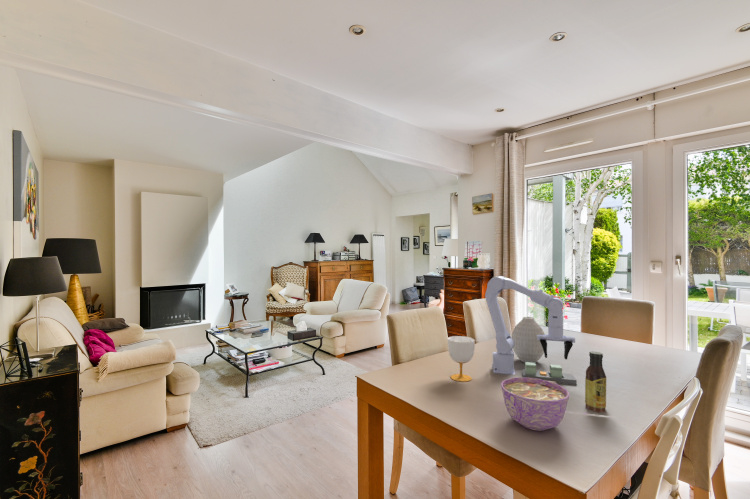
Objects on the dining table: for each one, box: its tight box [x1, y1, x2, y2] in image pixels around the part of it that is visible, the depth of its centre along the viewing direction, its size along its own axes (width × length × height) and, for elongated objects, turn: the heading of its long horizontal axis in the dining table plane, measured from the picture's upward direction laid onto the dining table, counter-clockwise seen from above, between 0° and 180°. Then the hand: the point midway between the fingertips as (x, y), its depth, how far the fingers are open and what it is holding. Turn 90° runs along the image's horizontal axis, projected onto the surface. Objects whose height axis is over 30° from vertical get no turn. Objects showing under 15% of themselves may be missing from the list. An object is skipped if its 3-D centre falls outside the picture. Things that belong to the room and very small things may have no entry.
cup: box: [447, 335, 476, 383], centre depth 155 cm, size 12×12×17 cm
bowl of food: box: [500, 376, 570, 432], centre depth 113 cm, size 20×20×12 cm
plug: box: [549, 364, 563, 378], centre depth 151 cm, size 4×4×6 cm
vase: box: [510, 316, 546, 364], centre depth 179 cm, size 16×16×22 cm
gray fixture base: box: [521, 362, 578, 386], centre depth 152 cm, size 20×8×6 cm, turn 73°
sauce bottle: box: [584, 350, 607, 413], centre depth 124 cm, size 7×6×20 cm
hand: (555, 358), depth 151 cm, fingers open, 7 cm apart
